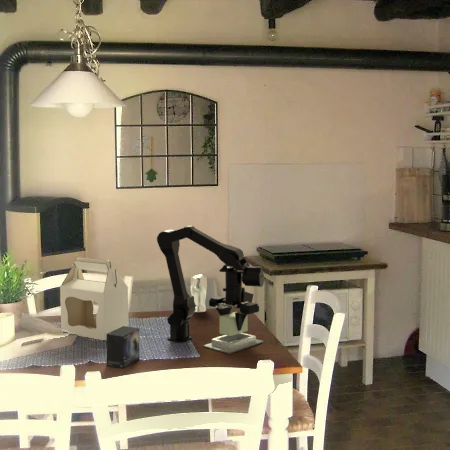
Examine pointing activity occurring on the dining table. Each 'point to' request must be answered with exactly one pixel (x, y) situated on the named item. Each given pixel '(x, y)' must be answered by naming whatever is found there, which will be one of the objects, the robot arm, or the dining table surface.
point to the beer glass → (199, 291)
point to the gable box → (93, 291)
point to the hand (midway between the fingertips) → (233, 329)
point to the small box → (122, 347)
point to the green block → (231, 324)
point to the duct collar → (233, 343)
